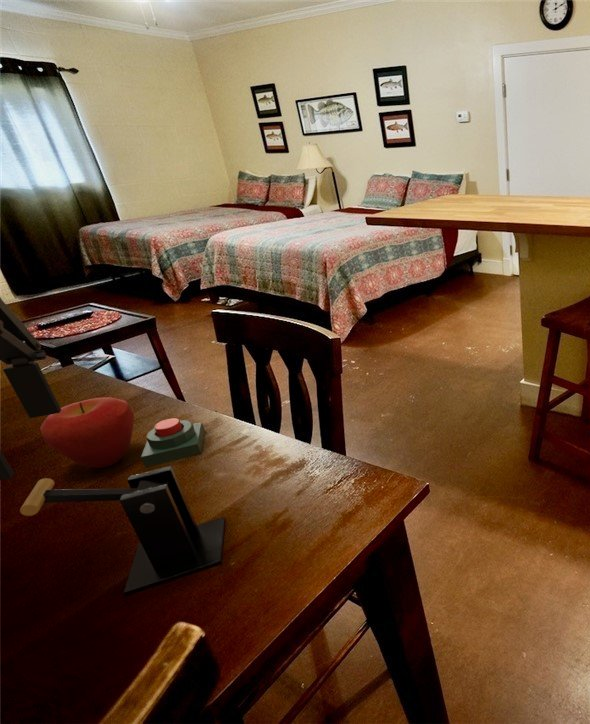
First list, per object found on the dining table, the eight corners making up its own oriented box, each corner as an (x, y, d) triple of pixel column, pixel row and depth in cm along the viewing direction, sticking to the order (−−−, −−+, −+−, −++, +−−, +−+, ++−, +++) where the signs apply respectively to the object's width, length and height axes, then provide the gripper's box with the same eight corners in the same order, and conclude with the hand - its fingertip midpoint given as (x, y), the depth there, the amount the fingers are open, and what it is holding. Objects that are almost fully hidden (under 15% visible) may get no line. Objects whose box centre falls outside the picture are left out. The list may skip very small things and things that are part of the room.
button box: (145, 467, 80) (136, 448, 79) (153, 443, 87) (146, 425, 85) (201, 454, 84) (194, 435, 82) (205, 431, 90) (198, 413, 88)
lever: (19, 520, 51) (19, 501, 50) (36, 492, 55) (37, 474, 54) (162, 513, 58) (164, 497, 57) (168, 489, 61) (170, 473, 61)
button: (156, 439, 82) (152, 431, 81) (159, 429, 84) (156, 421, 84) (181, 434, 83) (177, 425, 82) (183, 424, 86) (180, 416, 85)
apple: (154, 437, 88) (129, 380, 83) (140, 470, 80) (112, 409, 75) (78, 453, 84) (47, 394, 79) (54, 489, 75) (18, 426, 70)
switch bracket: (127, 599, 57) (82, 520, 52) (142, 548, 65) (104, 473, 59) (223, 567, 62) (191, 491, 56) (227, 522, 69) (199, 451, 63)
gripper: (-118, 278, 34) (21, 503, 43) (24, 225, 54) (98, 387, 63) (-286, 292, 31) (-97, 532, 40) (-70, 230, 51) (23, 400, 60)
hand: (22, 443), depth 52 cm, fingers open, 13 cm apart
